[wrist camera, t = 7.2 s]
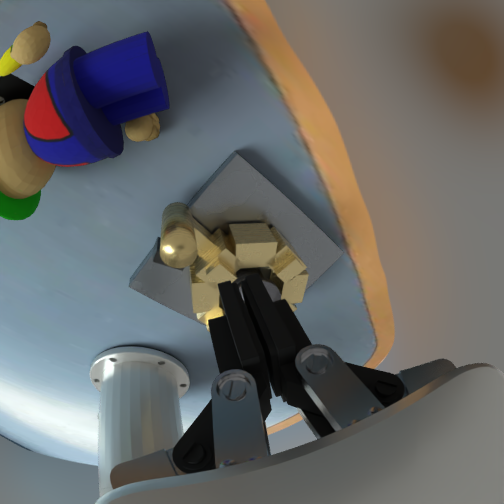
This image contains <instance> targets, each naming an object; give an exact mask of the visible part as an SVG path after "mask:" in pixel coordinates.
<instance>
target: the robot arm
mask: <svg viewBox="0 0 504 504" xmlns="http://www.w3.org/2000/svg"><path fill="white" fill-rule="evenodd" d="M240 283H241V288H242V293H243V298H244V300H243V298H242V295H241V293H240V290H239V287H238V285H237V283H231V281H230V280H229V281H225V282H221V283H218V284H217V285H218V289H219V293H220V296H221V300H222V304H223V308H224V312H225V315H224V316H221V317H217V318H213V319H209V320H208V325H209V330H210V334H211V338H212V343H213V347H214V351H215V355H216V360H217V364H218V368H219V372H220V374H219V375H218V376H217V377H216V378H215V380H214V382H213V384H212V389H211V395H212V399H211V400H210V402H209V403H208V404H207V406H206V407H205V408H204V409H203V411H202V412H201V413H200V415H199V416H198V417H197V418H196V420H195V421H194V422H193V423H192V425H191V426H190V427H189V428H188V430H187V431H186V432H185V433H183V426H182V419H181V411H180V403H179V398H181V397H182V396H183V395H184V394H185V393H186V392H187V390H188V389H189V385H190V381H189V374H188V371H187V369H186V368H185V366H184V365H183V364H182V363H181V362H180V361H178V360H177V359H175V358H174V357H172V356H170V355H168V354H166V353H163V352H161V351H157V350H154V349H150V348H144V347H133V346H130V347H118V348H113V349H110V350H107V351H104V352H102V353H101V354H99V355H98V356H97V357H96V358H95V359H94V360H93V362H92V364H91V368H90V379H91V381H92V384H93V385H94V386H95V388H96V389H97V390H98V391H99V392H100V407H99V413H98V419H99V431H98V465H99V487H100V498H99V499H98V500H97V501H96V503H95V504H504V374H503V373H502V372H501V371H500V370H499V369H498V368H496V367H495V366H493V365H490V364H487V363H474V364H468V365H465V366H461V367H458V368H456V366H455V365H454V364H453V363H452V362H451V361H449V360H447V359H437V360H434V361H431V362H428V363H425V364H422V365H419V366H415V367H412V368H409V369H405V370H401V371H400V372H399V374H395V375H394V374H391V373H387V372H383V371H379V370H375V369H371V368H367V367H362V366H358V365H354V364H350V363H347V362H344V361H343V360H342V359H341V358H340V357H339V356H338V355H337V353H336V352H335V351H334V350H332V349H331V348H330V347H328V346H325V345H320V344H315V345H312V344H311V342H310V340H309V338H308V337H307V335H306V333H305V332H304V330H303V328H302V326H301V325H300V323H299V321H298V319H297V318H296V316H295V314H294V312H293V311H292V309H291V307H290V306H289V304H288V302H287V301H286V299H281V300H278V301H274V302H273V301H272V299H271V297H270V295H269V293H268V291H267V289H266V287H265V285H264V284H263V282H262V280H261V278H260V276H259V274H258V273H255V274H252V275H248V276H245V280H243V281H240ZM269 381H270V382H269ZM270 383H271V386H272V388H273V391H274V393H275V396H276V397H278V396H281V397H282V400H283V402H286V401H287V403H288V405H291V406H293V407H296V408H297V410H298V412H299V413H300V415H301V416H302V418H303V419H304V421H305V422H306V424H307V425H308V427H309V428H310V429H311V431H312V432H313V434H314V435H315V437H316V438H317V440H315V441H312V442H309V443H307V444H304V445H301V446H298V447H295V448H292V449H289V450H286V451H283V452H280V453H277V454H274V455H271V452H270V446H269V440H268V435H267V429H266V423H265V420H266V418H267V417H268V415H269V413H270V412H271V410H272V409H271V404H270V399H271V398H272V394H271V388H270Z"/></svg>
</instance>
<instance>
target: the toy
mask: <svg viewBox="0 0 504 504" xmlns="http://www.w3.org/2000/svg"><path fill="white" fill-rule="evenodd" d="M49 45H50V33H49V32H48V30H47V25H46V24H45V23H42V22H40V21H38V22H36V23H35V24H33V26H31V27H29V28H27V29H25V30H23V31H22V32H21V33H20V34H19V35H18V36H17V38H16V39H15V41H14V44H13V45H12V46H11V47H10V48H9V49H8V50H7V51H6V52H5V53H4V55H3V56H2V58H1V60H0V76H1V77H0V216H1V217H3V218H5V219H8V220H23V219H25V218H27V217H29V216H31V215H32V214H33V213H34V211H35V210H36V208H37V206H38V204H39V201H40V196H41V189H42V188H43V187H44V186H45V185H46V183H47V182H48V181H49V179H50V178H51V176H52V174H53V172H54V170H55V167H56V165H57V166H66V167H70V166H81V165H87V164H90V163H94V162H97V161H100V160H102V159H105V158H107V157H110V158H114V157H116V156H118V155H120V154H121V153H122V151H123V145H124V141H123V135H122V130H121V126H120V124H122V123H124V122H126V125H125V132H126V135H127V136H128V138H129V139H131V140H133V141H137V142H138V141H143V140H145V141H150V140H153V139H155V138H157V137H158V136H159V133H160V132H159V129H160V124H159V118H158V117H157V116H156V114H155V113H156V112H159V111H163V110H166V109H169V97H168V91H167V86H166V81H165V77H164V73H163V69H162V66H161V63H160V60H159V58H157V56H156V52H155V48H154V45H153V42H152V39H151V36H150V34H149V32H148V31H147V32H144V33H141V34H138V35H134V36H131V37H128V38H126V39H123V40H120V41H117V42H114V43H112V44H109V45H107V46H104V47H101V48H99V49H97V50H94V51H92V52H90V53H86V52H85V51H84V50H83V49H82V48H80V47H78V46H73V47H71V48H70V49H68V50H67V51H66V52H64V55H63V57H62V58H60V59H59V60H58V61H57V62H56V63H55V64H53V65H52V66H51V67H50V68H49V69H48V70H47V71H46V72H45V73H44V75H43V76H42V77H41V79H40V80H39V82H38V83H37V84H36V86H33V85H31V84H29V83H27V82H25V81H23V80H22V79H20V78H18V77H16V76H14V75H12V74H10V73H12V72H14V71H15V70H16V69H18V68H19V67H20V66H21V65H22V64H32V63H35V62H36V61H38V60H39V59H41V58H42V57H43V56H44V54H45V53H46V52H47V50H48V48H49Z"/></svg>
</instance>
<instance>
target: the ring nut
mask: <svg viewBox="0 0 504 504" xmlns="http://www.w3.org/2000/svg"><path fill="white" fill-rule="evenodd" d="M160 256H161V259H162V261H163V262H164V263H165V264H166V265H168V266H170V267H172V268H184V267H187V266H189V271H190V290H191V299H192V307H193V313H197V319H198V320H199V321H201V322H203V323H204V324H206V326H207V331H209V332H210V330H209V325H208V320H209V319H213V318H217V317H221V316H224V315H225V312H224V308H223V304H222V300H221V296H220V293H219V289H218V285H217V284H218V283H221V282H225V281H229V280H230V281H231V283H232V282H233V281H235V280H236V279H237V276H236V272H237V271H238V270H239V269H240V268H254V267H268V266H269V267H270V268H271V274H270V280H271V281H273V282H274V283H275V284H276V286H277V287H278V289H279V291H280V294H281V299H286V301H287V302H288V304H289V306H290V307H291V309H292V311H293V312H294V311H295V310H296V309H297V308H296V306H295V304H294V303H301V302H302V300H303V296H304V292H305V288H306V284H307V280H308V276H309V274H308V273H307V271H306V270H305V269H306V268H307V266H306V265H305V263H304V262H303V260H302V259H301V258H300V256H299V255H298V253H297V252H296V250H295V249H294V248H293V246H292V245H291V244H290V243H289V242H288V241H287V240H286V239H285V238H284V237H283V236H282V235H281V234H280V233H279V232H278V230H277V229H276V228H275V227H274V226H273V227H272V228H271V229H269V228H268V226H267V225H266V223H253V224H229V227H228V235H226V234H225V233H224V232H223V231H222V230H221V229H220V228H219V229H218V230H217V231H216V232H214V233H213V234H211V233H210V232H209V231H207V230H206V229H205V228H204V227H203V226H202V225H201V224H199V223H198V222H197V221H196V220H195V219H194V218H193V217H192V212H191V210H190V208H189V207H188V206H187V205H185V204H183V203H179V202H176V203H172V204H170V205H168V206H167V207H166V208H165V209H164V211H163V214H162V226H161V241H160Z"/></svg>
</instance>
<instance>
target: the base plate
mask: <svg viewBox="0 0 504 504" xmlns="http://www.w3.org/2000/svg"><path fill="white" fill-rule="evenodd" d="M187 206H188V207H189V208H190V210H191V212H192V217H193V218H194V219H195V220H196V221H197V222H198V223H199V224H201V225H202V226H203V227H204V228H205V229H206V230H207V231H209V232H210V233H211V234H213V233H214V232H216V231H217V230H218V229H219V228H220V229H221V230H222V231H223V232H224V233H225V234H226V235H228V227H229V224H253V223H266V225H267V226H268V228H269V229H271V228H272V227H273V226H274V227H275V228H276V229H277V230H278V232H279V233H280V234H281V235H282V236H283V237H284V238H285V239H286V240H287V241H288V242H289V243H290V244H291V245H292V246H293V248H294V249H295V250H296V252H297V253H298V255H299V256H300V258H301V259H302V260H303V262H304V263H305V265H306V266H307V268H306V269H305V270H306V271H307V273H308V274H309V276H308V280H307V284H306V288H305V290H306V289H307V288H308V287H309V286H310V285H312V284H313V283H314V282H315V281H316V280H317V279H318V278H319V277H320V276H321V275H322V274H323V273H324V272H325V271H326V270H327V269H328V268H329V267H330V266H331V265H332V264H333V263H334V262H335V261H336V260H337V259H338V258H339V257H340V256H341V255H342V254H343V253H344V252H343V251H342V250H341V249H340V248H339V247H338V246H337V245H336V244H335V243H334V242H333V241H332V240H331V239H330V238H329V237H328V236H327V235H326V234H325V233H324V232H323V231H322V230H321V229H320V228H319V227H318V226H317V225H316V224H315V223H314V222H313V221H312V220H311V219H310V218H309V217H308V216H307V215H305V214H304V213H303V212H302V211H301V210H300V209H299V208H298V207H297V206H296V205H295V204H294V203H293V202H292V201H291V200H289V199H288V198H287V197H286V196H285V195H284V194H283V193H282V192H281V191H280V190H279V189H277V188H276V187H275V186H274V185H273V184H272V183H271V182H270V181H269V180H268V179H266V178H265V177H264V176H263V175H262V174H261V173H260V172H259V171H257V170H256V169H255V168H254V167H253V166H252V165H251V164H249V163H248V162H247V161H246V160H245V159H244V158H242V157H241V156H240V155H239V154H238V153H237V152H235V151H234V152H233V153H232V154H231V155H230V156H229V157H228V158H227V159H226V161H225V162H224V163H223V164H222V165H221V166H220V167H219V168H218V169H217V171H216V172H215V173H214V174H213V175H212V176H211V177H210V179H209V180H208V181H207V182H206V183H205V184H204V186H203V187H202V188H201V189H200V190H199V191H198V193H197V194H196V195H195V196H194V197H193V198H192V200H191V201H190V202H189V203H188V204H187ZM160 241H161V238H160V237H158V238H157V240H156V243H155V245H154V247H153V248H152V250H151V251H150V252H149V254H148V255H147V256H146V258H145V259H144V260H143V262H142V263H141V264H140V266H139V267H138V268H137V270H136V271H135V272H134V274H133V275H132V277H131V278H130V283H129V287H130V288H132V289H134V290H136V291H137V292H139V293H141V294H143V295H145V296H147V297H149V298H151V299H153V300H155V301H156V302H158V303H160V304H162V305H164V306H166V307H168V308H170V309H172V310H174V311H176V312H178V313H180V314H182V315H184V316H186V317H188V318H191V319H193V320H195V321H197V322H199V323H201V324H203V325H205V326H206V324H204V323H203V322H201V321H199V320H198V319H197V313H193V307H192V299H191V290H190V271H189V266H187V267H184V268H172V267H170V266H168V265H166V264H165V263H164V262H163V261H162V259H161V256H160ZM255 273H258V274H259V276H260V278H261V280H262V282H263V284H264V285H265V287H266V289H267V291H268V293H269V295H270V297H271V299H272V301H273V302H274V301H278V300H281V294H280V291H279V289H278V287H277V286H276V284H275V283H274V282H273V281H271V280H270V274H271V268H270V267H269V266H268V267H254V268H240V269H239V270H238V271H237V272H236V276H237V279H236V280H235V281H233V282H232V283H237V285H238V287H239V290H240V293H241V295H242V298H243V293H242V288H241V283H240V281H243V280H245V276H248V275H252V274H255ZM243 300H244V298H243Z"/></svg>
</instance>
